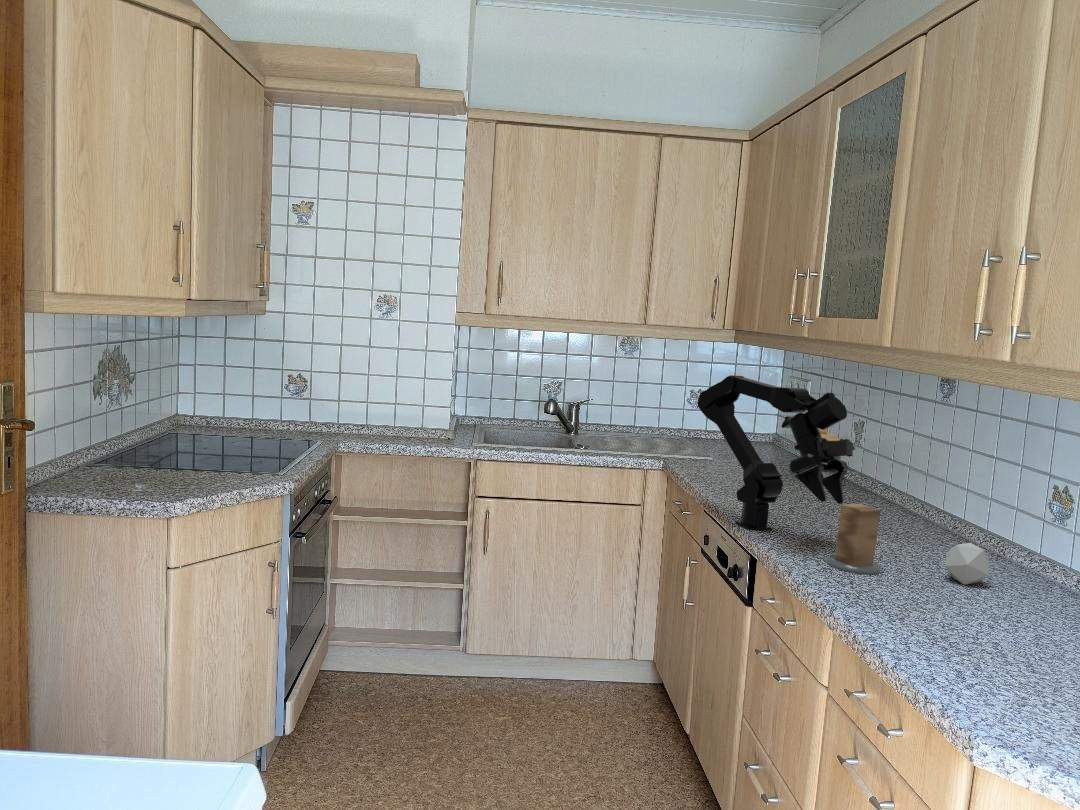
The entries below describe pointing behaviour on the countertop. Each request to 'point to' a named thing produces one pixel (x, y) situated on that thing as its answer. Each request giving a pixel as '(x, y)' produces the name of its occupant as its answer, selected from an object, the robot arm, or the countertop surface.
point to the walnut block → (857, 535)
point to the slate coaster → (860, 570)
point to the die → (967, 563)
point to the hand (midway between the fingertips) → (832, 502)
